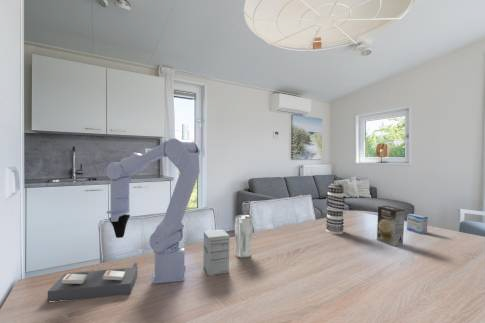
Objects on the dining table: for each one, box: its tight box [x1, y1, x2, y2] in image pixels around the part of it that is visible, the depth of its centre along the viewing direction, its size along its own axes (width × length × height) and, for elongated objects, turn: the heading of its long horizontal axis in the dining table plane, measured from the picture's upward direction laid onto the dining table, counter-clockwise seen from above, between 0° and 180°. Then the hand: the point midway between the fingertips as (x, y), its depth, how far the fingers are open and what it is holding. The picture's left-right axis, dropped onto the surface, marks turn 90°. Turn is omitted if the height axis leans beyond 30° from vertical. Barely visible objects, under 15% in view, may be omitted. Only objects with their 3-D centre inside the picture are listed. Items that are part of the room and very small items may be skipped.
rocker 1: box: [62, 274, 87, 284], centre depth 68 cm, size 5×3×1 cm, turn 104°
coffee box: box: [376, 205, 406, 247], centre depth 113 cm, size 9×6×16 cm
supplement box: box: [203, 228, 230, 276], centre depth 84 cm, size 7×7×13 cm
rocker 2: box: [103, 269, 125, 280], centre depth 70 cm, size 5×3×1 cm, turn 104°
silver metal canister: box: [234, 214, 253, 259], centre depth 96 cm, size 7×7×15 cm
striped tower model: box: [325, 182, 346, 235], centre depth 128 cm, size 9×9×25 cm
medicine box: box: [406, 213, 429, 235], centre depth 131 cm, size 8×4×9 cm, turn 25°
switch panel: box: [47, 262, 138, 302], centre depth 75 cm, size 20×18×3 cm
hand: (119, 237), depth 84 cm, fingers closed
